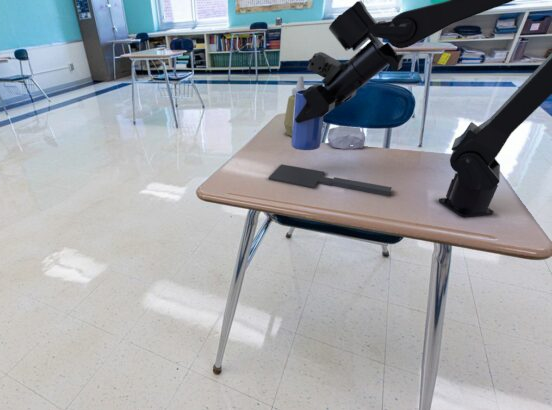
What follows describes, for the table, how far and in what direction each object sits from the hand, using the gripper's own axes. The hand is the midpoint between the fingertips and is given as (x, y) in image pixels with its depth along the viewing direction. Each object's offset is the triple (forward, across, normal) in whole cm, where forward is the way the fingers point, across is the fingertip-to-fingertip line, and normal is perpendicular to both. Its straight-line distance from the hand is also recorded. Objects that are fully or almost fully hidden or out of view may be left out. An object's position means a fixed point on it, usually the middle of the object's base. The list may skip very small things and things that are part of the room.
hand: (302, 117), depth 77 cm
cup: (+4, 0, +6) cm, 7 cm away
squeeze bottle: (+18, -27, 0) cm, 32 cm away
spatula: (+3, +3, +16) cm, 16 cm away
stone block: (+8, -26, +12) cm, 30 cm away
